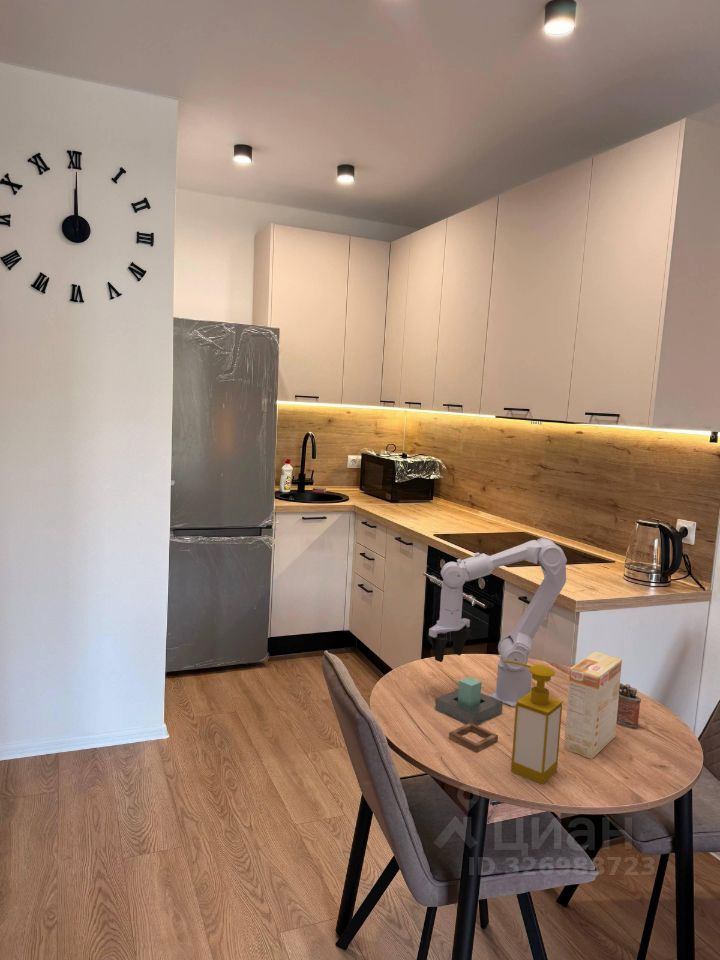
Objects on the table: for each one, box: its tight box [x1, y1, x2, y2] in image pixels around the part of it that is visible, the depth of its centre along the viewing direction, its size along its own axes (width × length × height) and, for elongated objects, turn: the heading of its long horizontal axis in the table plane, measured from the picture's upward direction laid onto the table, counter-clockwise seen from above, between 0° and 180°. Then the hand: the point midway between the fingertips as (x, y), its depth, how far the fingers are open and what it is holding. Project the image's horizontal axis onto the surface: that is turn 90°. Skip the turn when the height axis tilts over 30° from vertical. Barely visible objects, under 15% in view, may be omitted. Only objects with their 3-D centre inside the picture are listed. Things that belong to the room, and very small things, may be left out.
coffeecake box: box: [563, 651, 623, 760], centre depth 158 cm, size 15×7×20 cm, turn 139°
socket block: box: [434, 688, 504, 726], centre depth 173 cm, size 12×12×3 cm
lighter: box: [616, 682, 642, 730], centre depth 170 cm, size 8×3×10 cm, turn 47°
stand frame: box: [448, 723, 499, 753], centre depth 158 cm, size 8×8×2 cm
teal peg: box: [458, 676, 482, 707], centre depth 172 cm, size 4×4×8 cm
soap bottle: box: [503, 660, 563, 785], centre depth 146 cm, size 7×13×24 cm, turn 50°
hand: (448, 657), depth 181 cm, fingers open, 7 cm apart
